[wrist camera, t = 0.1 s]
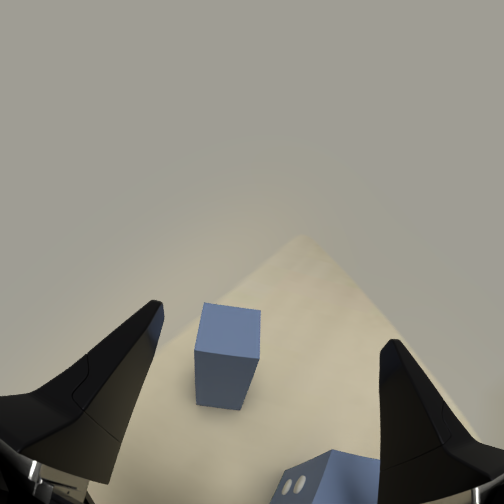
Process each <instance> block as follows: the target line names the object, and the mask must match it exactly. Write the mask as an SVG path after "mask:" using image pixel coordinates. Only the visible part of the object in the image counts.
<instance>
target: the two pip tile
mask: <svg viewBox="0 0 504 504" xmlns="http://www.w3.org/2000/svg"><path fill="white" fill-rule="evenodd" d="M379 472H380V460H378V459H372V458H367V457H362V456H358V455H353V454H349V453H345V452H341V451H337V450H333V449H331V450H330V451H328V452H326V453H324V454H321V455H319V456H317V457H315V458H313V459H311V460H309V461H307V462H304V463H302V464H300V465H297V466H295V467H293V468H290V469H288V470H285V472H284V474H283V476H282V478H281V481H280V483H279V485H278V487H277V489H276V491H275V493H274V496H273V498H272V500H271V502H270V504H377V499H378V488H379Z"/></svg>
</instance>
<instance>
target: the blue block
mask: <svg viewBox="0 0 504 504" xmlns="http://www.w3.org/2000/svg"><path fill="white" fill-rule="evenodd" d="M260 315H261V310H254V309H246V308H239V307H231V306H224V305H217V304H211V303H204V305H203V310H202V314H201V319H200V324H199V329H198V334H197V339H196V344H195V349H194V360H195V387H196V405H202V406H209V407H216V408H224V409H233V410H240V409H241V407H242V404H243V402H244V399H245V397H246V394H247V391H248V389H249V386H250V383H251V381H252V378H253V375H254V372H255V370H256V367H257V364H258V361H259V359H260Z"/></svg>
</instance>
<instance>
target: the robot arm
mask: <svg viewBox="0 0 504 504" xmlns="http://www.w3.org/2000/svg"><path fill="white" fill-rule="evenodd" d="M163 322H164V309H163V303H162V302H161V301H157V300H151V301H149V302H148V303H147V304H146V305H145V306H143V307H142V308H141V309H140V310H138V311H137V312H136V313H135V314H134V315H132V316H131V317H130V318H129V319H127V320H126V321H125V322H124V323H122V324H121V325H120V326H119V327H118V328H116V329H115V330H114V331H113V332H112V333H110V334H109V335H108V336H107V337H106V338H104V339H103V340H102V341H101V342H100V343H98V344H97V345H96V346H95V347H94V348H92V349H91V350H90V351H89V352H88V353H87V354H85V355H84V356H83V357H82V358H81V359H79V360H78V361H77V362H76V363H74V364H73V365H72V366H71V367H69V368H68V369H66V370H65V371H64V372H62V373H61V374H59V375H58V376H56V377H55V378H53V379H52V380H50V381H49V382H48V383H46V384H45V385H43V386H42V387H40V388H38V389H37V390H35V391H32V392H30V393H26V394H19V395H10V396H0V504H95V503H94V502H93V500H92V498H91V497H90V495H89V493H88V491H87V488H88V484H89V481H90V480H91V481H95V482H98V483H103V484H107V485H108V484H109V481H110V478H111V474H112V471H113V468H114V465H115V462H116V459H117V456H118V453H119V450H120V447H121V443H122V440H123V438H124V435H125V432H126V429H127V426H128V423H129V420H130V418H131V415H132V412H133V409H134V407H135V404H136V401H137V399H138V396H139V393H140V391H141V388H142V386H143V383H144V380H145V378H146V375H147V373H148V370H149V368H150V365H151V363H152V360H153V357H154V354H155V351H156V347H157V343H158V339H159V336H160V333H161V329H162V326H163ZM379 397H380V429H381V443H380V472H379V488H378V499H377V504H504V450H502V449H499V448H495V447H492V446H489V445H485V444H482V443H480V442H478V441H476V440H475V439H474V438H473V437H472V436H471V435H470V434H469V432H468V431H467V430H466V429H465V427H464V426H463V425H462V424H461V422H460V421H459V420H458V419H457V417H456V416H455V415H454V413H453V412H452V411H451V409H450V408H449V406H448V405H447V404H446V402H445V401H444V400H443V398H442V396H441V395H440V394H439V392H438V391H437V389H436V388H435V386H434V385H433V384H432V382H431V381H430V379H429V378H428V377H427V375H426V374H425V373H424V371H423V370H422V369H421V367H420V366H419V365H418V363H417V362H416V360H415V359H414V358H413V357H412V355H411V354H410V353H409V351H408V350H407V349H406V347H405V346H404V345H403V343H402V342H401V341H400V340H398V339H390V340H389V341H388V342H387V344H386V345H385V346H384V347H383V348H382V350H381V352H380V371H379Z"/></svg>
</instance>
